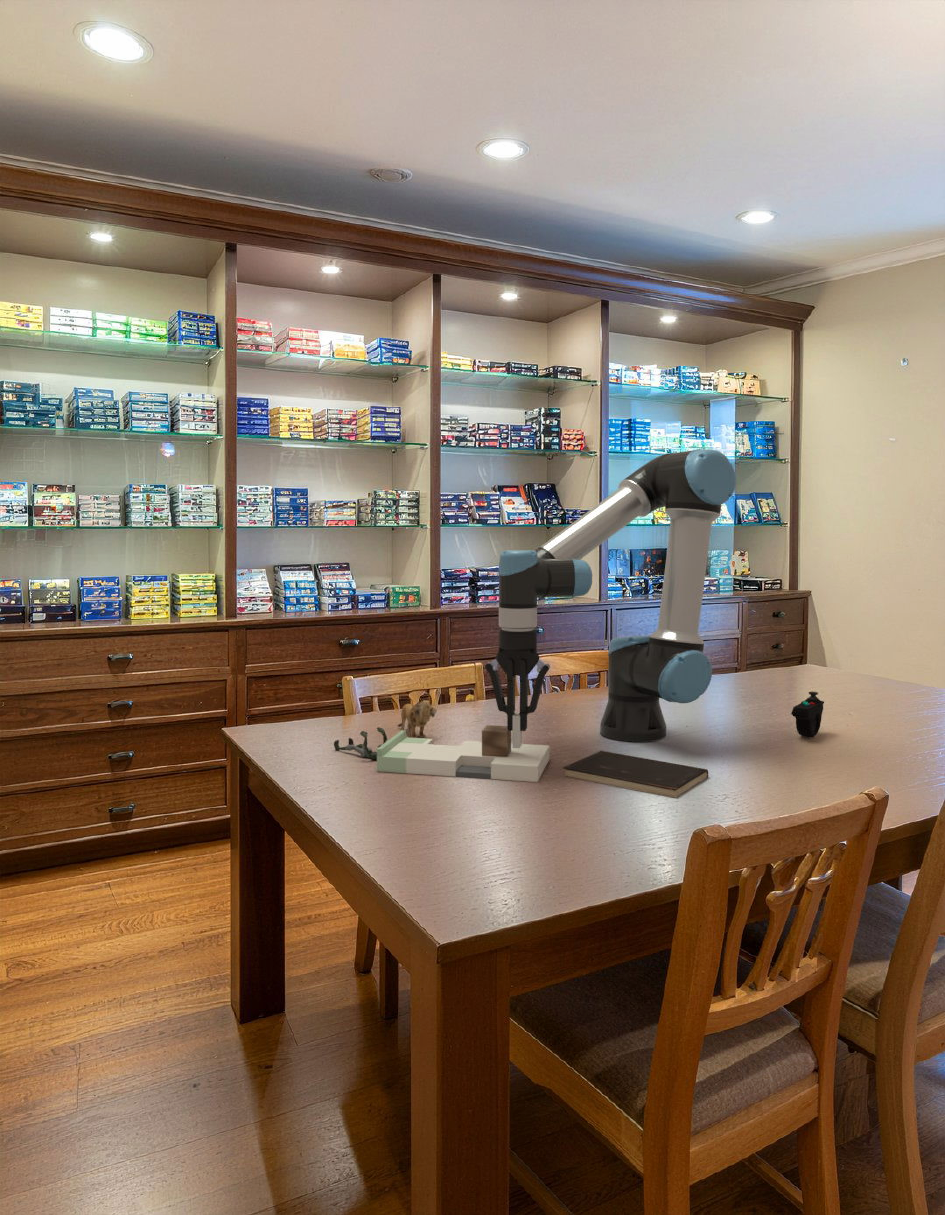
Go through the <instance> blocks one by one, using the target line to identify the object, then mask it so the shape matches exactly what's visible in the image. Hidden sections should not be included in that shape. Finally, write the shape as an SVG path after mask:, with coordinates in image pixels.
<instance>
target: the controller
mask: <svg viewBox="0 0 945 1215" xmlns="http://www.w3.org/2000/svg"><path fill="white" fill-rule="evenodd" d="M808 695H810V696H808V697H806V699H805V700H802V701H801V702H800V703H799V704H796V705H795V706H793V707H792V710H791V713H790V714H791V715H792V717H794V718H795V725H796V726H795V727H796V731H797V733H798V734H799V736H801V737H803V738H810V739H811V738H814V737H816V736H817V735H818V733H819V730H820V728H821V723H822V716H823V712H824V703H825V701H824V700H820V699H819V697H817V695H819V692H818V691H808Z"/></svg>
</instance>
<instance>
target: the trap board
mask: <svg viewBox="0 0 945 1215" xmlns="http://www.w3.org/2000/svg"><path fill="white" fill-rule="evenodd" d="M382 744H383V743H382ZM382 744H380V745H381V746H380V747H379V748H378V747H377V749H376V752H377V759H376V772H382V773H395V774H396V773H397V774H411V775H412V774H413V775H424V776H425V775H428V776H440V777H441V776H442V777H444V776H445V777H454V778H458V777H459V778H470V779H471V778H472V779H488V780H500V781H501V780H502V781H503V780H504V781H515V782H516V781H517V782H533V783H538V782H539V781H540V778H541V777H542V775H543V772H544V770H545V769H546V766H547V764H548V763H549V761H550V745H547V744H546V745H545V744H527V743H522V746H521V747H520V748H513V742H511V752H510V753H509V755H508V756H507V757H496V756H482V741H477V740H476V741H475V740H464V741H463V742H462V743H461V744H460V745H447V744H434V739H433V738H427V737H426V738H425V737H416V738H411V737H407V730H406V729H404V730H401V729H400V730H399V732H397V733H396V734H394V735H393V736H392V737H391V738H389V739H387V741H386V742H385V743H384V744H383V745H382Z"/></svg>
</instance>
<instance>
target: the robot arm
mask: <svg viewBox="0 0 945 1215" xmlns="http://www.w3.org/2000/svg"><path fill="white" fill-rule="evenodd" d="M736 484H737V478H736V472H735V468H734V466H733V464H732V463H731V462H730V461H729V458H728V457H727V456H726V455H725V454H724V453H722V452H720V451H719V450H716V449H711V448H709V449H700V448H697V449H694V450H687V451H686V450H685V451H680V452H670V453H669V452H668V453H665V454H661V455H658V456H657V457H655V458H653V459H651V460H650V461H648V462H647V463H645V464H643V465H642V466H640V467H639V468H638V469H636V470H635V471H633V472H632V473H630V475H628V476H627V477H625V478H624V479H623V480H621V481H620V482H619V484H618V489H616V490H615V491H614V492H613V493H611V494H610V495H608V496H607V497H606V498H604V499H603V500H601V501H600V502H599V503H597V504H596V505H595V506H593V507H592V508H590V510H588V511H587V512H586V513H584V514H583V515H581V516H580V517H579V518H577V519H576V520H575V521H573V522H572V523H570V524H569V525H568V526H567V527H565V528H564V529H563V530H561V531H560V532H558V533H557V534H556V535H554V536H553V537H551V538H550V539H549V540H548V541H546V542H545V543H543V544H542V545H540V546H539V547H538V548H537V549H535V550H532V549H531V550H527V549H524V550H523V549H522V550H521V549H517V550H516V549H510V550H509V549H506V550H503V551H502V552H501V553H500V555H499V562H498V572H497V575H498V627H499V628H501V629H500V630H499V631H498V651H497V654H496V655H495V659H493V660H491V661H489V662H487V663H486V664H485V665H484V668H485V670H486V672H487V673H488V674H489V676H490V679H491V680H490V681H491V685H492V689H493V694H494V697H495V702H496V705H497V710H498V711H499V712H503V713H504V714H506V716H507V717H506V718H507V722H506V723H507V725H506V726H507V728H508V730H511V732H512V743H513V748H520V747H521V746H522V744H523V742H522V740H523V732H525V731H526V730H527V729H528V715H529V714H533V713H534V712H535V711H536V710H537V708H538V703H539V700H540V696H541V692H542V689H543V684H544V681H545V676H546V674H547V673H548V672H549V671H550V668H551V665H550V664H549V663H545V662H544V661H542V660H541V659H540V654H538V651H537V650H538V631H537V630H536V629H535V628H537V627H538V598H539V599H543V598H575V597H582V596H585V595H587V594H588V593H589V591H590V590H591V589H592V585H593V571H592V569H591V566H590V564H589V563H588V562H587V561H585V560H584V559H583V558H584V557H586V556H587V555H589V554H590V553H591V552H593V551H594V550H595V549H596V548H598V547H599V546H601V544H603V543H605V542H606V541H607V540H609V539H610V538H612V536H614V535H616V534H617V533H618V532H619V531H620V530H622V529H623V528H625V527H626V526H627V525H629V524H630V523H632V522H633V521H634V520H635V519H637V518H638V517H640V518H644V517H647V516H648V515H649V514H651V513H652V512H653V511H656V510H658V509H661V508H664V512H665V513H666V514H667V516H669V518H670V523H669V524H670V525H669V533H668V541H667V549H666V550H667V551H666V557H665V558H666V559H665V565H664V566H665V568H664V575H663V580H662V590H661V599H660V605H659V606H660V608H659V614H658V623H657V629H656V630H654V632H652V633H651V634H650V635H635V636H634V635H632V636H620V637H619V636H618V637H613V638H612V639H611V640H610V642H609V646H608V653H607V656H608V681H607V682H608V683H607V684H608V694H607V695H608V697H607V702H606V703H607V704H606V706H605V709H604V712H603V715H602V718H601V721H600V726H599V731H600V732H599V733H600V735H602V736H603V737H604V738H607V739H611V740H616V741H623V742H632V743H633V742H635V743H637V742H638V743H639V742H641V743H642V742H655V741H659V740H662V739H664V738H666V737H667V723H666V721H665V717H664V714H663V711H662V708H661V704H660V699H661V700H665V701H666V702H669V703H676V704H677V703H678V704H689V703H692V702H695V701H696V700H698V699H699V698H700V697H701V696H702V695H704V693H706V691H707V690H708V687H709V686H710V684H711V681H712V677H713V666H712V662H710V659H709V657H708V656H707V655H706V654H705V653H704V649H705V648H704V646H705V641H704V640H703V638H702V637H701V636H700V634H699V629H700V628H699V627H700V619H701V613H702V605H703V604H702V603H703V598H704V597H703V596H704V588H705V580H706V570H707V565H708V555H709V550H710V548H709V547H710V539H711V532H712V524H713V523H714V521H716V520H717V519H718V518H719V517H721V511H722V505H723V504H724V503H725V504H726V502H728V501H729V500H730V498H731V497H732V496H733V495H734V492H735V491H736V490H735V489H736ZM499 666H500V668H501V669H502V670H503V672H504V674H506V682H507V683H506V700H505V695H504V691H503V687H502V682H501V678H500V674H499V671H498V670H499ZM536 666H537V667H536ZM535 667H536V671H537V676H536V680H535V683H534V687H533V692H532V695H531V700H530V703H529V702H528V701H529V700H528V698H529V692H528V691H529V690H528V689H529V687H528V686H529V682H528V680H529V675H530V673H531V672H532V671H533V669H534V668H535ZM516 676H518V677H519V712H515V711H516ZM528 703H529V704H528Z"/></svg>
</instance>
